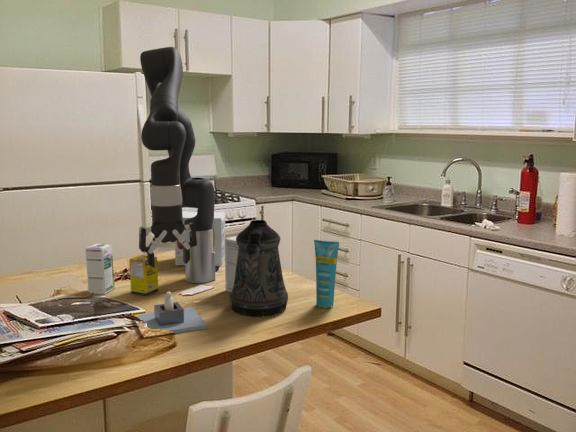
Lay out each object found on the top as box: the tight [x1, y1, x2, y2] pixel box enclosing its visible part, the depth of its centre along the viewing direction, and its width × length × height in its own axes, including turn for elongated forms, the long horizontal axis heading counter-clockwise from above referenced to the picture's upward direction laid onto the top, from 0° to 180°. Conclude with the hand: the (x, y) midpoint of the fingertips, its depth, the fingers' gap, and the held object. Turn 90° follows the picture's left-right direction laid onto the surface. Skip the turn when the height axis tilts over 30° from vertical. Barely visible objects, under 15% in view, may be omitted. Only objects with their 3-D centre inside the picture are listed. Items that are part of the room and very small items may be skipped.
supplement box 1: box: [128, 254, 159, 297], centre depth 166 cm, size 6×6×11 cm
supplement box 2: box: [174, 210, 226, 267], centre depth 201 cm, size 17×13×18 cm
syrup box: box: [84, 243, 116, 295], centre depth 166 cm, size 6×6×14 cm
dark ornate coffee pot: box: [229, 219, 289, 318], centre depth 151 cm, size 16×19×25 cm
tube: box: [313, 239, 340, 308], centre depth 155 cm, size 7×5×19 cm, turn 73°
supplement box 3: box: [224, 235, 239, 293], centre depth 168 cm, size 10×9×17 cm
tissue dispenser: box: [153, 301, 184, 326], centre depth 141 cm, size 6×6×4 cm
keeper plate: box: [138, 291, 208, 334], centre depth 141 cm, size 16×14×8 cm
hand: (169, 264), depth 139 cm, fingers open, 8 cm apart
